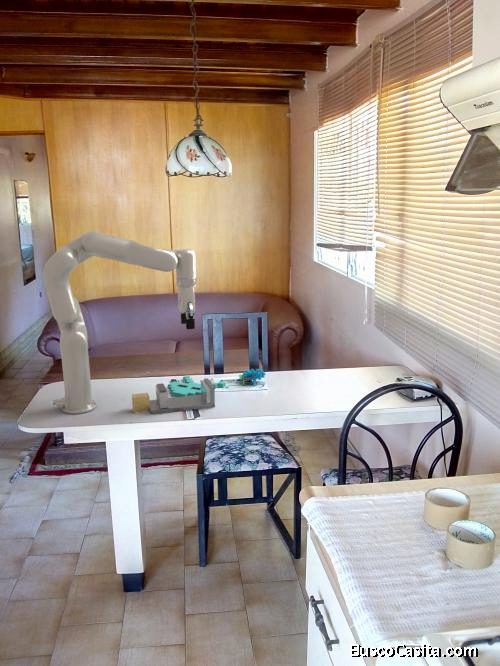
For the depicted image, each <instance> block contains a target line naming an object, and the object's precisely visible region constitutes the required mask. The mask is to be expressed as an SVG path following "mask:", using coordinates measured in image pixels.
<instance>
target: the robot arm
mask: <svg viewBox="0 0 500 666" xmlns="http://www.w3.org/2000/svg"><path fill="white" fill-rule="evenodd" d="M92 257H97V258H101V259H107V260H112V261H116V262H120V263H123V264H124V263H125V264H128V265H133V266H138V267H142V268H146V269H150V270H156V271H160V272H164V273H165V272H166V273H167V272H172V271H174V270H175V273H176V274H175V277H176V280H175V281H176V287H177V288H178V289H177V290H178V291H177V309H178V310H179V312H180V324H181V325H185V329H186V330H195V328H196V325H195V323H196V322H195V320H196V319H195V312H196V295H195V288H196V287H197V262H196V259H197V257H196V251H195V250H194V249H189V248H187V249H186V248H182V249H167V248H162V249H159V248H156V247H155V248H154V247H151V246H147V245H144V244H141V243H139V242H136V241H135V240H132V239H127V238H124V237H119V236H114V235H110V234H106V233H102V232H99V231H97V230H89V231H88V232H86V233H84V234H83V235H81V236H79V237H77V238H75V239H74V240H72V241H70V242H68V243H66V244H64V245H63V246H60V247H59V248H58V249H57V250H56V251H55V252H54V254H53V255H51V256H50V258H48V260H47V261H46V263H45V265H44V268H43V273H42V278H43V284H44V287H45V290H46V296H47V299H48V301H49V305H50V310H51V313H52V316H53V318H54V319H55V321H56V324H57V325H58V329H59V332H60V336H59V348H60V357H61V365H62V366H61V367H62V374H63V375H62V376H63V386H64V387H63V388H64V396H63V397H62V398H61V399H60V398H59V399H57V398H56V399H52V405H53V406H56V407H60V406H61V410H62V412H63V413H66V414H71V415H76V414H85V413H88V412H91V411H93V410H95V409H96V408H97V401H95V400H93V399H92V398H93V397H92V382H91V370H90V369H91V368H90V356H89V342H88V330H87V327H86V323H85V320H84V316H83V313H82V309H81V305H80V303H79V301H78V299H76V297H74V294H73V291H72V290H73V289H72V285H71V283H70V279H69V278H70V277H69V276H70V274H71V272H73V271H74V270H75V269H76V268H77V267H78V266H79V265H80V264H82V263H83V262H85V261H87V260H88V259H92Z"/></svg>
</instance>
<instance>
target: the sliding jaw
mask: <svg viewBox="0 0 500 666" xmlns="http://www.w3.org/2000/svg"><path fill="white" fill-rule="evenodd" d="M155 395H156V396H155V397H156V399H155V400H157V402H158V404H159V406H160V409H161V408H169V407H168V398H169V393H168V390H167V388H166V386H165V384H164V383H161V382H160V383H156V384H155Z"/></svg>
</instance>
